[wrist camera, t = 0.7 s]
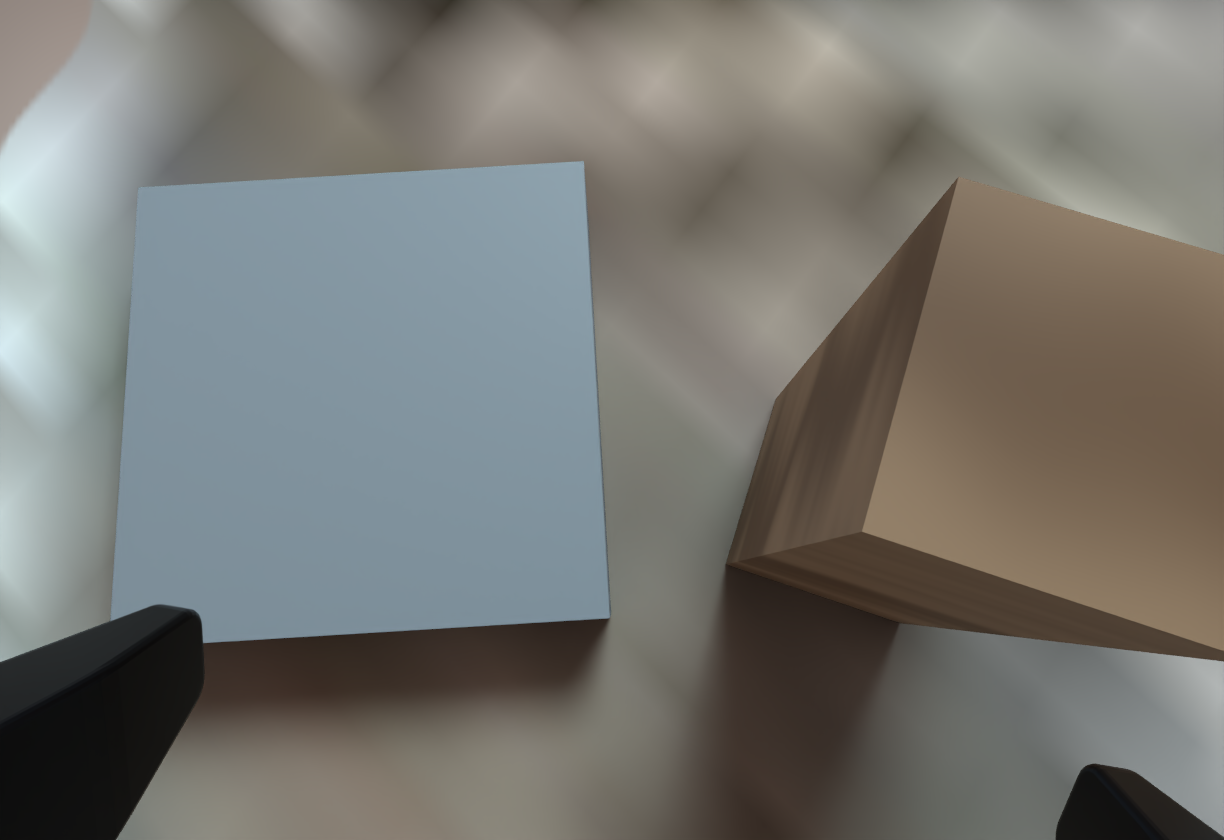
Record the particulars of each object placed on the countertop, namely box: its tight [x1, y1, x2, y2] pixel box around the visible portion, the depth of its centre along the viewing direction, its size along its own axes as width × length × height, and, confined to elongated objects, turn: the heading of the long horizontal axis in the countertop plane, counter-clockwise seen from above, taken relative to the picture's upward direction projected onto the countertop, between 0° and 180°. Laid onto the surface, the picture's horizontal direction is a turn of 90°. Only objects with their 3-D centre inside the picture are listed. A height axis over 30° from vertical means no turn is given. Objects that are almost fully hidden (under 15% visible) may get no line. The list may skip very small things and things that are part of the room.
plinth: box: [110, 161, 611, 643], centre depth 22 cm, size 12×12×3 cm
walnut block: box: [726, 177, 1224, 661], centre depth 17 cm, size 5×5×13 cm
